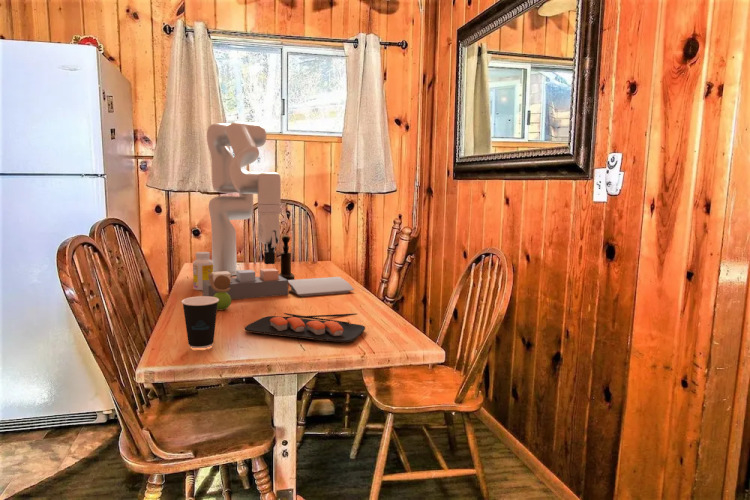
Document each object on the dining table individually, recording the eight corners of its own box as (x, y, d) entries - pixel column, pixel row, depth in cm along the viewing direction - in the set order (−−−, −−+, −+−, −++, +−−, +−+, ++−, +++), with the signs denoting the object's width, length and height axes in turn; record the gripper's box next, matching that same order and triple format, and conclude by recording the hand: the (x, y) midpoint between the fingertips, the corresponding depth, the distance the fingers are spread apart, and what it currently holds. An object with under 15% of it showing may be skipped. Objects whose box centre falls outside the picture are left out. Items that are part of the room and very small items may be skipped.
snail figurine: (209, 308, 150) (208, 268, 148) (231, 307, 152) (231, 267, 150) (207, 312, 145) (207, 271, 143) (231, 311, 146) (230, 270, 145)
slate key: (236, 282, 169) (236, 270, 169) (251, 281, 172) (251, 269, 171) (240, 285, 165) (240, 273, 164) (255, 284, 167) (255, 272, 167)
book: (280, 290, 180) (280, 279, 179) (339, 285, 190) (340, 275, 190) (294, 299, 166) (294, 287, 166) (357, 294, 177) (357, 283, 176)
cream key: (211, 284, 165) (211, 272, 165) (227, 282, 168) (227, 271, 167) (215, 286, 161) (214, 274, 160) (230, 285, 163) (230, 273, 163)
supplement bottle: (216, 287, 179) (216, 251, 178) (208, 291, 173) (208, 254, 171) (198, 286, 180) (197, 251, 178) (190, 290, 173) (189, 253, 172)
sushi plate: (239, 336, 125) (239, 321, 124) (290, 308, 153) (290, 296, 153) (351, 349, 117) (351, 333, 117) (383, 317, 146) (383, 305, 145)
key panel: (202, 295, 167) (202, 280, 166) (278, 289, 179) (278, 275, 179) (208, 301, 158) (208, 285, 157) (288, 294, 171) (288, 280, 170)
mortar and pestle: (282, 279, 198) (282, 233, 196) (297, 280, 196) (297, 234, 194) (274, 282, 192) (274, 235, 190) (289, 283, 190) (289, 236, 187)
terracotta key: (260, 280, 173) (260, 269, 172) (274, 279, 175) (274, 268, 175) (264, 283, 169) (264, 271, 168) (278, 282, 171) (278, 270, 170)
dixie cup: (205, 339, 120) (205, 294, 118) (226, 346, 115) (226, 299, 114) (175, 347, 113) (174, 300, 112) (196, 355, 109) (195, 305, 107)
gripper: (252, 208, 174) (252, 261, 176) (264, 210, 161) (265, 267, 163) (273, 208, 177) (273, 260, 179) (287, 210, 164) (287, 266, 166)
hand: (269, 263), depth 171 cm, fingers closed
